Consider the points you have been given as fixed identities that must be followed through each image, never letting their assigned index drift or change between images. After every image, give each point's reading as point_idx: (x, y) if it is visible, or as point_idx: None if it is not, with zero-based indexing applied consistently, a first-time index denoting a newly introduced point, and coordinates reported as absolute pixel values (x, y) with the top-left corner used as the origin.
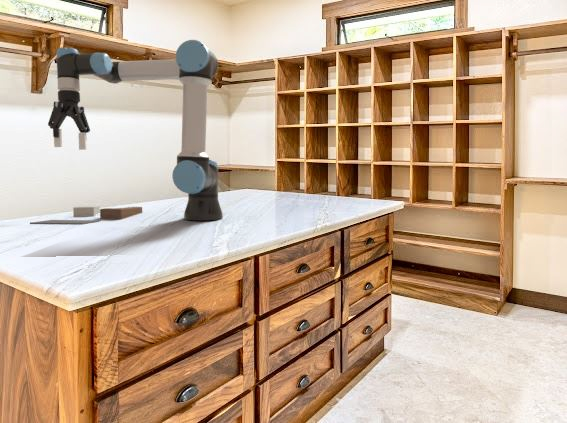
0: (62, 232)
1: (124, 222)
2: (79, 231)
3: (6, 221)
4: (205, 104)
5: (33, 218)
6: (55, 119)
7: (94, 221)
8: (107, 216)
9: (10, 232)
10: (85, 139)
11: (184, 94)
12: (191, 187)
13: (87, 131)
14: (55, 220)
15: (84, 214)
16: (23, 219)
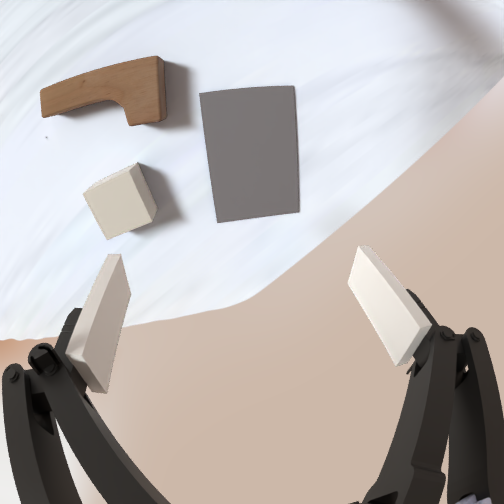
0: (429, 55)
1: (216, 20)
2: (414, 34)
3: (250, 295)
4: None
5: (170, 304)
6: (490, 364)
7: (233, 89)
8: (164, 96)
9: (436, 133)
10: (90, 304)
11: None
12: None
13: (48, 352)
14: (231, 201)
15: (144, 188)
16: (198, 302)
